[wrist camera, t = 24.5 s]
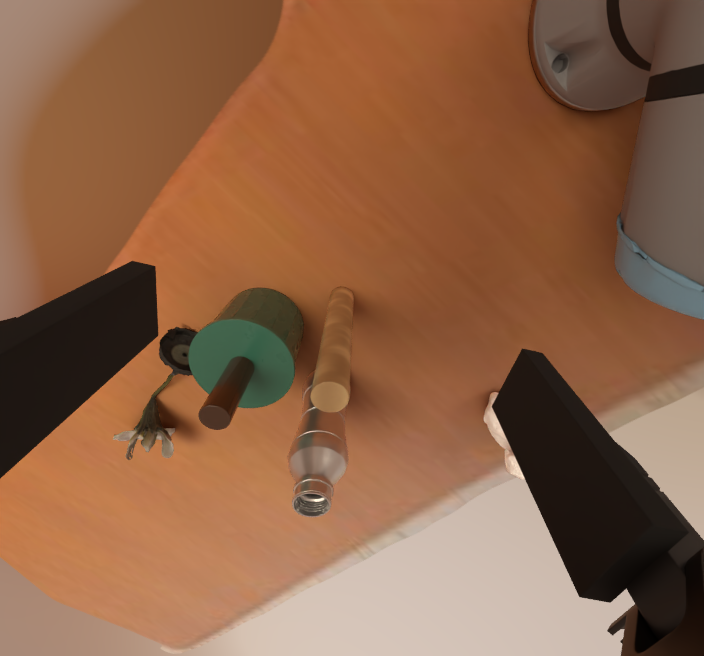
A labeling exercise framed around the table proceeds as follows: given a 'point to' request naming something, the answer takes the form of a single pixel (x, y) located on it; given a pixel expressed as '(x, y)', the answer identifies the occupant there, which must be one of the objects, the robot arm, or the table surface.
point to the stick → (335, 354)
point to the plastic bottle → (317, 456)
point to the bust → (501, 438)
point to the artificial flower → (150, 427)
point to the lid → (239, 367)
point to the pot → (269, 313)
